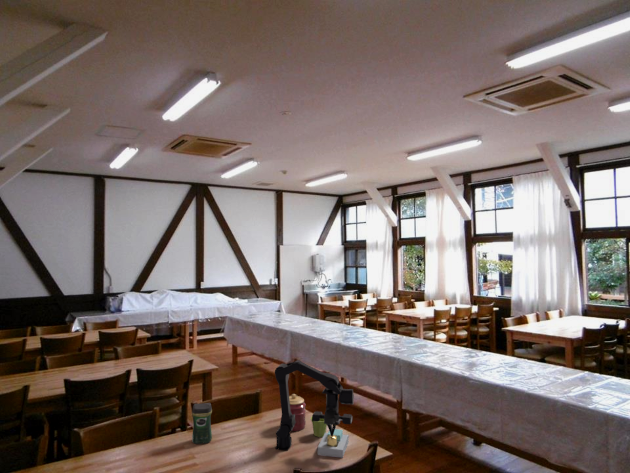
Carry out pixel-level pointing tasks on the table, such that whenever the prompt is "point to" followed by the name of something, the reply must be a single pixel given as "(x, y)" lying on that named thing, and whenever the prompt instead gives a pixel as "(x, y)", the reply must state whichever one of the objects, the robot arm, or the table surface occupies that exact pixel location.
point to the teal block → (337, 434)
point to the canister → (298, 411)
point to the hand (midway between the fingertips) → (332, 435)
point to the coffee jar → (201, 423)
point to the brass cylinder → (332, 441)
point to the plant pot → (319, 427)
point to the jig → (333, 451)
